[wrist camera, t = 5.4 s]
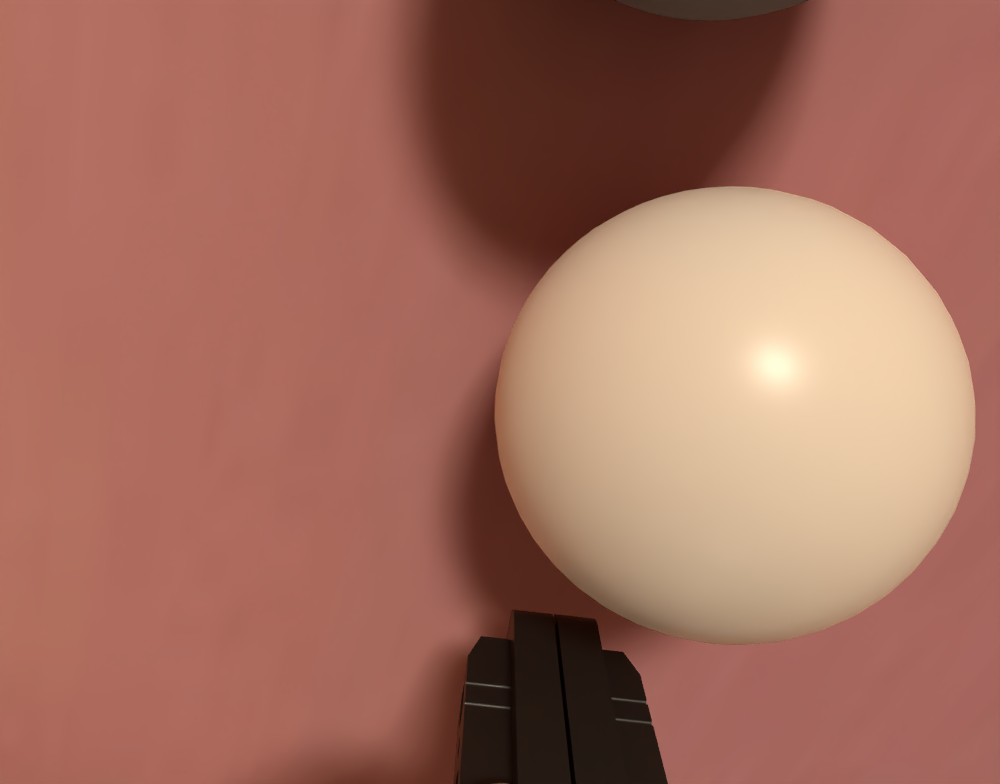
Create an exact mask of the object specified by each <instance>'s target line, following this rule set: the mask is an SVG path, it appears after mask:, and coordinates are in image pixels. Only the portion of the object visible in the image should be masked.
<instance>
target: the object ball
mask: <svg viewBox="0 0 1000 784" xmlns="http://www.w3.org/2000/svg"><path fill="white" fill-rule="evenodd" d="M615 1H618V2H620V3H622V4H625V5H627V6H630V7H632V8H636V9H639V10H642V11H645V12H649V13H652V14H656V15H661V16H666V17H671V18H676V19H685V20H696V21H724V20H732V19H740V18H747V17H752V16H757V15H763V14H767V13H771V12H775V11H779V10H783V9H787V8H790V7H792V6H795V5H798V4H800V3H803V2H805V1H808V0H615Z"/></svg>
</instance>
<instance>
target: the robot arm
mask: <svg viewBox="0 0 1000 784" xmlns="http://www.w3.org/2000/svg"><path fill="white" fill-rule="evenodd" d="M651 722H652V720H651V716H650V712H649V708H648V705H646V696H645V692H644V688H643V684H642V680H641V676H640V674H639V673H638V671H637V670H636V669H635V667H634V666H633V665H632V663H631V662H630V661H629V659H628V658H627V657H626V655H625V654H624V653H623V652H618V651H609V650H602V646H601V641H600V636H599V631H598V626H597V622H596V620H595V619H591V618H582V617H574V616H565V615H556V614H555V615H554V617H553V615H552V614H546V613H537V612H528V611H519V610H512V612H511V616H510V621H509V627H508V633H507V639H500V638H492V637H483V636H481V637H480V639H479V640H478V642H477V643H476V645H475V646H474V648H473V649H472V651H471V652H470V654H469V655H468V659H467V666H466V673H465V679H464V686H463V693H462V700H461V706H460V713H459V720H458V731H457V744H456V757H455V773H454V784H668V782H667V779H666V775H665V771H664V767H663V763H662V759H661V755H660V751H659V747H658V743H657V739H656V735H655V731H654V727H653V726H652V725H651Z"/></svg>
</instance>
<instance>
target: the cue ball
mask: <svg viewBox="0 0 1000 784" xmlns="http://www.w3.org/2000/svg"><path fill="white" fill-rule="evenodd" d="M495 428H496V437H497V446H498V454H499V459H500V463H501V467H502V471H503V475H504V479H505V482H506V485H507V487H508V490H509V492H510V494H511V497H512V499H513V502H514V504H515V506H516V509H517V511H518V513H519V515H520V517H521V519H522V520H523V522H524V524H525V526H526V527H527V529H528V531H529V532H530V534H531V536H532V537H533V539H534V540H535V542H536V543H537V544H538V546H539V547H540V548H541V549H542V551H543V552H544V553H545V554H546V556H547V557H548V558H549V559H550V561H551V562H552V563H553V564H554V565H555V566H556V568H558V569H559V570H560V571H561V572H562V573H563V574H564V575H565V576H566V577H567V578H568V579H569V580H570V581H571V582H572V583H573V584H574V585H575V586H576V587H577V588H579V589H580V590H582V591H583V592H584V593H586V594H587V595H589V596H590V597H591V598H593V599H594V600H595V601H597V602H598V603H600V604H601V605H602V606H604V607H605V608H607V609H609V610H611V611H613V612H614V613H616V614H618V615H620V616H622V617H624V618H626V619H628V620H630V621H631V622H633V623H636V624H638V625H641V626H643V627H646V628H649V629H652V630H655V631H657V632H660V633H663V634H666V635H669V636H672V637H677V638H681V639H687V640H693V641H698V642H704V643H711V644H722V645H747V644H760V643H772V642H780V641H785V640H789V639H793V638H797V637H800V636H804V635H808V634H812V633H815V632H819V631H822V630H824V629H826V628H828V627H831V626H833V625H835V624H838V623H840V622H842V621H844V620H847V619H849V618H851V617H853V616H855V615H857V614H859V613H860V612H862V611H863V610H865V609H866V608H868V607H870V606H871V605H873V604H874V603H876V602H877V601H879V600H880V599H882V598H883V597H885V596H886V595H888V594H889V593H890V592H891V591H892V590H893V589H894V588H896V587H897V586H898V585H899V584H900V583H901V582H902V581H903V580H905V579H906V578H907V577H908V576H909V575H910V574H911V573H912V572H913V571H914V570H915V569H916V568H917V566H918V565H919V564H920V563H921V561H922V560H923V559H924V558H925V557H926V555H927V554H928V553H929V552H930V550H931V549H932V548H933V547H934V545H935V544H936V543H937V542H938V540H939V538H940V537H941V535H942V533H943V531H944V530H945V528H946V526H947V525H948V523H949V521H950V519H951V518H952V516H953V514H954V512H955V510H956V507H957V504H958V502H959V499H960V496H961V494H962V491H963V488H964V485H965V483H966V480H967V476H968V473H969V469H970V463H971V458H972V452H973V447H974V442H975V399H974V390H973V384H972V378H971V372H970V366H969V361H968V358H967V356H966V353H965V350H964V347H963V344H962V342H961V339H960V336H959V333H958V331H957V329H956V327H955V324H954V322H953V320H952V318H951V316H950V314H949V313H948V311H947V309H946V307H945V306H944V304H943V302H942V300H941V299H940V297H939V295H938V293H937V292H936V291H935V289H934V288H933V287H932V286H931V285H930V283H929V282H928V281H927V280H926V279H925V277H924V276H923V275H922V274H921V273H920V271H919V270H918V269H917V268H916V267H915V265H914V264H913V263H912V262H911V261H910V260H909V258H908V257H907V256H906V255H905V254H903V253H902V252H901V251H900V250H898V249H897V248H896V247H895V246H894V245H892V244H891V243H890V242H889V241H887V240H886V239H885V238H884V237H882V236H881V235H880V234H879V233H877V232H876V231H875V230H874V229H872V228H871V227H869V226H867V225H866V224H864V223H862V222H860V221H858V220H856V219H855V218H853V217H851V216H849V215H847V214H845V213H843V212H841V211H839V210H838V209H836V208H834V207H832V206H829V205H826V204H824V203H821V202H818V201H816V200H813V199H810V198H806V197H802V196H798V195H793V194H789V193H785V192H781V191H777V190H771V189H764V188H756V187H737V186H726V187H709V188H701V189H694V190H687V191H682V192H678V193H674V194H670V195H666V196H662V197H659V198H656V199H653V200H650V201H647V202H644V203H642V204H639V205H637V206H635V207H633V208H631V209H628V210H626V211H624V212H622V213H620V214H618V215H616V216H615V217H613V218H611V219H609V220H608V221H606V222H604V223H603V224H601V225H599V226H597V227H596V228H594V229H593V230H591V231H590V232H589V233H587V234H586V235H585V236H583V237H582V238H581V239H579V240H578V241H577V242H576V243H575V244H574V245H573V246H571V247H570V248H569V249H568V250H567V251H566V252H565V253H564V254H563V255H562V256H561V257H560V258H559V259H558V260H557V261H556V262H555V263H554V264H553V265H552V266H551V267H550V268H549V269H548V271H547V272H546V273H545V275H544V276H543V277H542V278H541V280H540V281H539V282H538V284H537V285H536V286H535V288H534V289H533V291H532V292H531V293H530V295H529V296H528V298H527V299H526V301H525V303H524V305H523V307H522V309H521V311H520V313H519V314H518V316H517V318H516V320H515V323H514V325H513V327H512V329H511V332H510V334H509V337H508V340H507V343H506V346H505V349H504V352H503V355H502V359H501V365H500V370H499V376H498V381H497V387H496V393H495Z"/></svg>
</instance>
